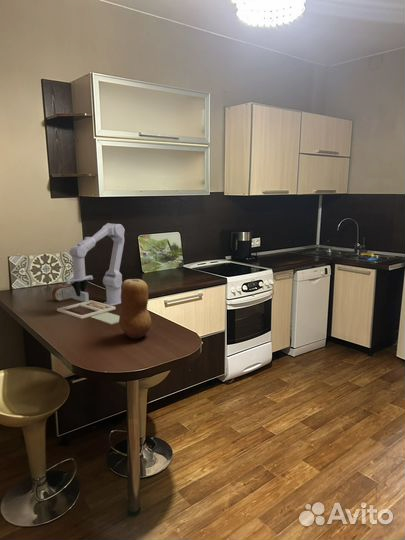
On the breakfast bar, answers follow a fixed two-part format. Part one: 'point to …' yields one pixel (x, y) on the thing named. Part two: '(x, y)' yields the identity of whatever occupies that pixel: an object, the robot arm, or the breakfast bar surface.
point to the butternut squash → (134, 308)
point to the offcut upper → (97, 306)
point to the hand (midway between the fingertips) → (80, 295)
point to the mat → (107, 318)
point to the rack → (86, 307)
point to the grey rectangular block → (81, 296)
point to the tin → (63, 292)
